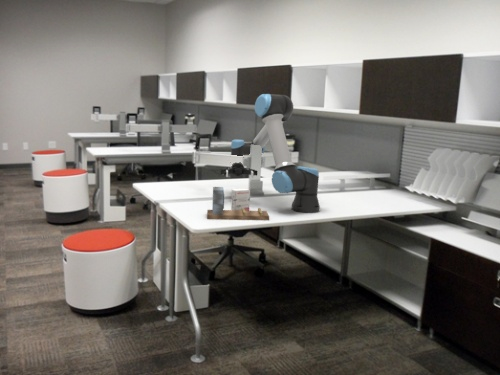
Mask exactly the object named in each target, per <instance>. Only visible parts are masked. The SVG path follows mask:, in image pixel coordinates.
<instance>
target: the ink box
mask: <svg viewBox="0 0 500 375" xmlns="http://www.w3.org/2000/svg"><path fill="white" fill-rule="evenodd" d="M250 201H251V190H250V189H248V188H238V189H237V188H236V189H235V188H234V189H233V188H232V189H231V201H230V202H231V203H230V206H231V208H230V210H242V208H244V209H245V210H246V211H250V205H251V204H250V203H251V202H250Z"/></svg>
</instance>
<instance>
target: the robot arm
mask: <svg viewBox="0 0 500 375" xmlns="http://www.w3.org/2000/svg"><path fill="white" fill-rule="evenodd" d="M254 112H255V113H254V114H255V115H256V116H258V117H259V118H261V122H262V123H264V126H263V127H262V128H261V129H260V131H259V132H258V134H257V135H256V136H255V138H254V139H253V140H252V141H251V142H245V140H244V139H237V138H236V139H233V140H231V145H230V156H231V155H237V156H243V155H244V156H250V155H249V154H250V145H251V144H254V145H260V146H261V148H262V153H263V154H264V152H265V149H266V145H267V144H268V142H269V144H270V147H271V152H272V156H273V159H274V163H275V167H274V169H273V174H272V176H271V184H272V186H273V188H274V190H275V191H276V192H278V193H279V194H290V193H295V195H294V197H293V200H292V203H291V211H295V212H299V213H319V212H320V209H321V208H320V203H319V199H318V198H319V197H318V191H319V178H320V176H319V174H320V173H319V170H318V169H317V168H314V167H307V166H300V165H299V166H296V165H297V164H295V163H293V161H292V158H291V154H290V149H289V145H288V141H287V137H286V133H285V129H284V125H283V124H284V123H286V122H288V121H289V119H290V118H291V117H292V115H293V112H294V103H293V100H292V99H291V98H290V97H289V96H288V95H285V94H270V93H262V94H260V95H259V96H257V98H256V101H255V103H254ZM229 167H230V166H229ZM229 167H227V166H226V167H224V168H221V169H220V175H223V176H224V177H226V178H228V177H229V175H231V174H232V175H234V176H235V177H240V176H242V175H250V177H251V178H252V179H253V178H254V176H256V177H257V176H258V170H257V169H254V168H253V169H252V168H250V167H248V168H247V167H246V168H245V166H244V163H243V164H242V163H241V162H235V163H233V164H232V166H231V167H230V168H229Z"/></svg>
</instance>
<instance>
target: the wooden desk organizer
mask: <svg viewBox="0 0 500 375" xmlns="http://www.w3.org/2000/svg"><path fill="white" fill-rule="evenodd" d="M206 213H207V214H206V216H207V218H206V219H207V220H237V221H238V220H239V221H240V220H242V221H245V220H247V221H249V220H252V221H270V215H269V213H268V211H267V210H262V208H261V207H257V210H249V211H246V210H245V209H244V208H242V210H231V209H225V190H224V187H223V186H212V209H207V212H206Z"/></svg>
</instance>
